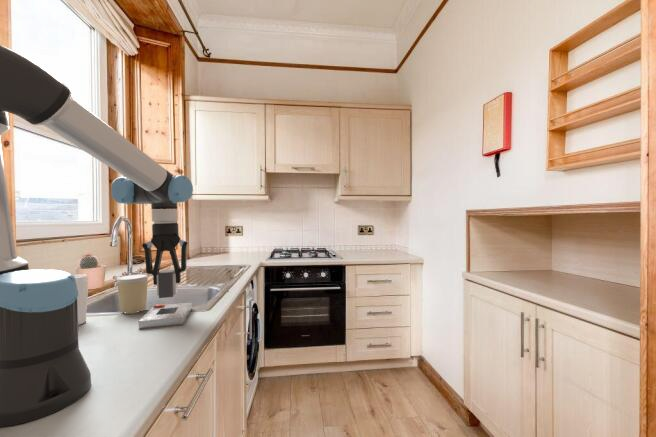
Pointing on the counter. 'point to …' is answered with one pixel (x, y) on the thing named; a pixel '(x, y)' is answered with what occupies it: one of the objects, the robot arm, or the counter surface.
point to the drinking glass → (82, 296)
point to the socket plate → (165, 315)
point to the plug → (165, 283)
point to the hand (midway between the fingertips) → (167, 293)
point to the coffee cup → (132, 293)
